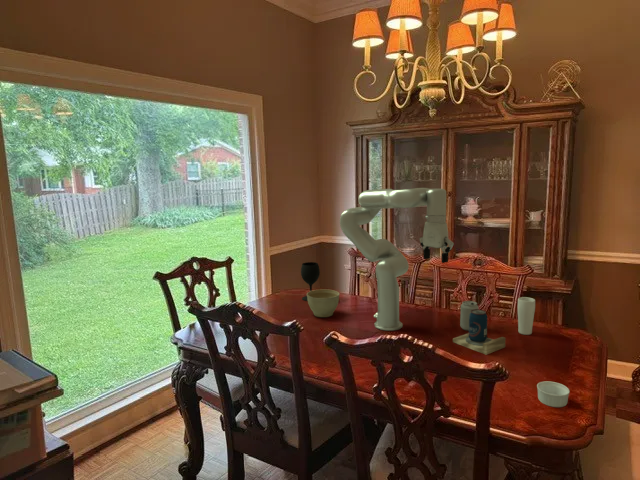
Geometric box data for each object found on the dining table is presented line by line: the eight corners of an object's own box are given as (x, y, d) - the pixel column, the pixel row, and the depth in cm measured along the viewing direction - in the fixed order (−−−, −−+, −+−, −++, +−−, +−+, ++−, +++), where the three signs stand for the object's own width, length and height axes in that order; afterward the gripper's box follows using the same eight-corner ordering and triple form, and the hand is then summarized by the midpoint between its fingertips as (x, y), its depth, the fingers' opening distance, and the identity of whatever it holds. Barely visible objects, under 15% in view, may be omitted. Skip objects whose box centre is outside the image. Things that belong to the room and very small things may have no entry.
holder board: (452, 342, 185) (452, 333, 185) (471, 335, 192) (471, 326, 191) (486, 354, 172) (486, 345, 171) (505, 347, 179) (505, 337, 178)
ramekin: (570, 411, 132) (571, 397, 131) (537, 405, 136) (537, 392, 135) (567, 396, 140) (567, 383, 140) (535, 392, 144) (536, 379, 143)
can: (479, 331, 196) (479, 305, 194) (461, 331, 197) (461, 304, 195) (476, 325, 203) (477, 300, 201) (459, 325, 204) (459, 299, 202)
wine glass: (300, 301, 248) (298, 265, 244) (303, 295, 258) (302, 261, 254) (318, 301, 246) (317, 265, 243) (321, 296, 256) (320, 261, 253)
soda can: (465, 340, 182) (465, 311, 180) (474, 335, 187) (475, 307, 185) (480, 344, 177) (481, 315, 175) (489, 340, 182) (490, 311, 180)
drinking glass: (533, 331, 194) (535, 297, 192) (533, 336, 188) (535, 302, 186) (516, 329, 197) (518, 296, 195) (516, 334, 191) (517, 300, 189)
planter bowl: (337, 320, 215) (337, 298, 213) (304, 319, 218) (303, 297, 216) (341, 309, 231) (341, 289, 229) (310, 309, 233) (309, 288, 232)
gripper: (414, 218, 188) (413, 258, 190) (446, 221, 173) (446, 265, 176) (426, 216, 192) (426, 256, 195) (459, 220, 178) (458, 262, 180)
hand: (435, 260), depth 185 cm, fingers open, 9 cm apart
